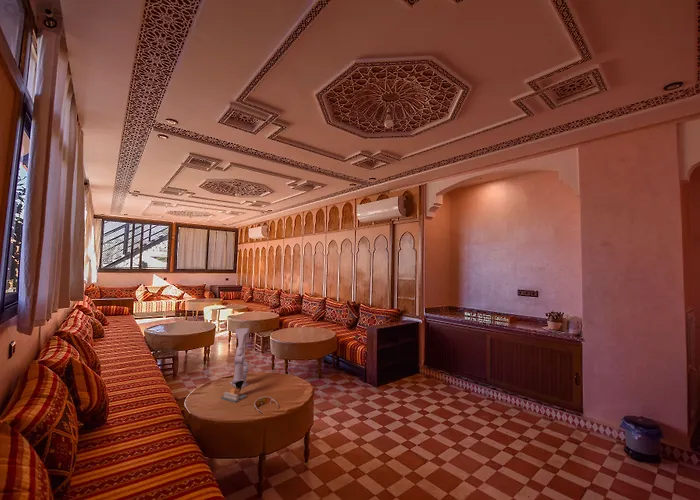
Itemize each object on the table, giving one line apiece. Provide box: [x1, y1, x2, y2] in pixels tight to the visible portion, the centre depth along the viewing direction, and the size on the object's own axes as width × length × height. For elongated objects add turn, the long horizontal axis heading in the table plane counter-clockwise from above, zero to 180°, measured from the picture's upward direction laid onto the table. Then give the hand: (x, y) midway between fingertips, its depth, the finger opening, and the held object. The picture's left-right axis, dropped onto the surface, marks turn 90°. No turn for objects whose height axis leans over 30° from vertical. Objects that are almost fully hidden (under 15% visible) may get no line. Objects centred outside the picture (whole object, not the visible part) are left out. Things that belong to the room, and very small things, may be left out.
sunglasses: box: [253, 396, 279, 415], centre depth 212 cm, size 14×15×5 cm
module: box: [229, 386, 241, 396], centre depth 228 cm, size 4×5×5 cm
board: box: [220, 391, 248, 404], centre depth 227 cm, size 14×11×4 cm
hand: (238, 391), depth 231 cm, fingers closed
